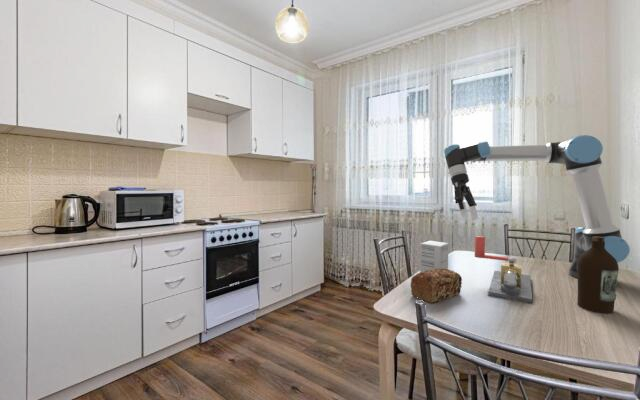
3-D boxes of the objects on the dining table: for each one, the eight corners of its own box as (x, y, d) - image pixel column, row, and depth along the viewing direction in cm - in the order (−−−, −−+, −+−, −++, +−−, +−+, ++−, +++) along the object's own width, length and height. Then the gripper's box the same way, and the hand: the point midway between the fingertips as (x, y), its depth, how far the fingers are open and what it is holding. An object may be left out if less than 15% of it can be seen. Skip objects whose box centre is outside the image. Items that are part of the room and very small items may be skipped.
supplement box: (428, 275, 144) (429, 240, 143) (448, 279, 138) (449, 242, 137) (419, 280, 137) (419, 243, 136) (439, 284, 131) (440, 246, 130)
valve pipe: (494, 273, 147) (495, 251, 146) (529, 278, 139) (530, 255, 138) (488, 295, 118) (489, 268, 118) (532, 303, 111) (533, 274, 110)
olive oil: (567, 303, 110) (570, 235, 109) (590, 300, 113) (593, 234, 111) (600, 315, 100) (604, 240, 99) (624, 312, 102) (628, 239, 101)
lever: (516, 260, 129) (516, 239, 128) (516, 262, 125) (516, 240, 125) (475, 255, 137) (475, 235, 137) (473, 257, 134) (474, 236, 133)
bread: (432, 305, 109) (432, 277, 109) (409, 295, 118) (409, 270, 118) (462, 294, 119) (463, 269, 119) (439, 287, 128) (439, 263, 128)
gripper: (460, 182, 158) (471, 222, 151) (440, 173, 140) (451, 217, 134) (475, 177, 153) (487, 218, 147) (456, 167, 135) (468, 213, 129)
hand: (470, 218), depth 140 cm, fingers open, 13 cm apart
